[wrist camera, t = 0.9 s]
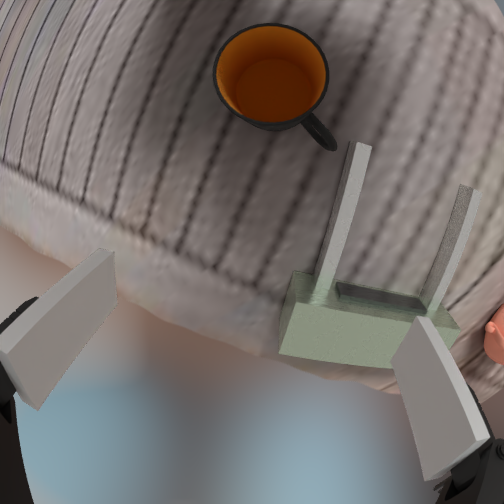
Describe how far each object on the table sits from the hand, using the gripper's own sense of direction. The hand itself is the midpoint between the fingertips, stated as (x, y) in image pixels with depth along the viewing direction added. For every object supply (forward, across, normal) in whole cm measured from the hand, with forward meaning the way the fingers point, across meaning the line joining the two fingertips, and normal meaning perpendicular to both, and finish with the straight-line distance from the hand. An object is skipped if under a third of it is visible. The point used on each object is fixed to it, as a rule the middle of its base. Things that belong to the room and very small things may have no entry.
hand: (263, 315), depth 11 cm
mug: (+22, -1, +10) cm, 24 cm away
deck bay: (+21, +15, -4) cm, 26 cm away
